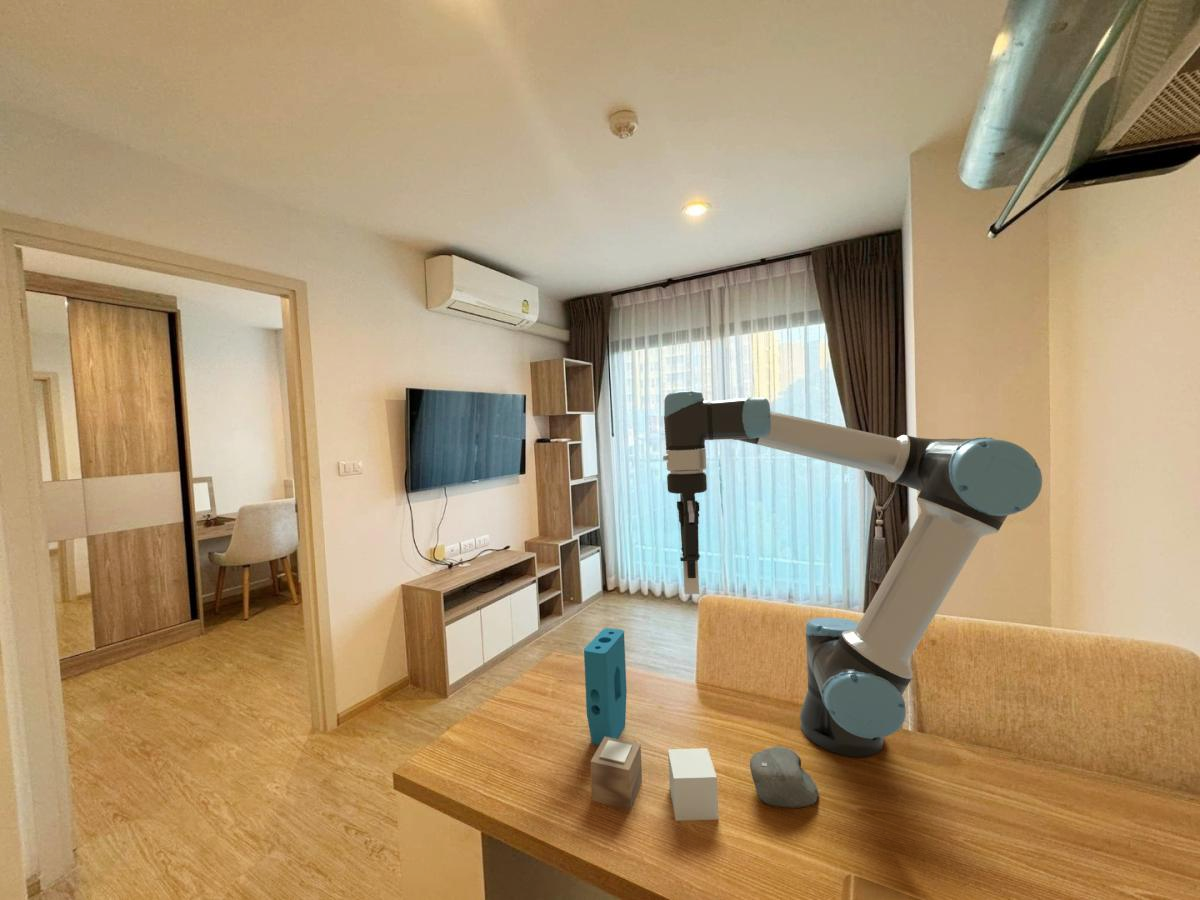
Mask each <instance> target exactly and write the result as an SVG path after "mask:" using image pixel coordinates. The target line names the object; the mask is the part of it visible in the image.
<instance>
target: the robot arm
mask: <svg viewBox="0 0 1200 900" xmlns="http://www.w3.org/2000/svg"><path fill="white" fill-rule="evenodd" d="M663 405H664V415H663V420H664V437H665V451H666V452H665V454H667V455H663V457H662V460H663V461H667V462H666V470H667V471H668V472H670V473H668V474H667V475H666V481H667V483H666V485H667V486H666V487H667V491H668V493H670V494H680V495H679V496H680V497H679V498H680V499H679V500H677V501H676V508H677V510H678V522H679V524H680V541H681V548H680V549H681V552H682V553H681V555H682V556H681V557H679V558H680V562H682V566H683V568H682V569H683V572H682V573H683V587H684V588H683V590H684V591H683V592H684V595H699V594H700V582H699V580H700V579H699V577H700V576H699V560H700V557H701V555H700V552H699V551H700V550H699V547H700V546H699V542H700V541H699V522H700V521H699V518H700V513H699V512H700V502H699V501H698V500H696V494H700V493H705V492H706V491H707V490H708V484H707V483H708V482H707V474H706V472H705V470H706V469H707V452H706V445H705V443H706V441H715V440H734V441H740V442H744V443H748V444H753V445H757V446H762V447H766V448H771V449H775V450H778V451H783V452H786V453H791V454H795V455H800V456H804V457H808V458H811V459H817V460H819V461H820V460H821V461H825V462H828V463H834V464H836V465H841V466H845V467H848V468H852V469H856V470H857V469H858V470H861V471H866V472H869V473H874V474H878V475H882V476H884V477H885V479H886V480H887V481H888V482H890V483H893V484H898V485H901V486H905V487H908V488H910V489H913V490H916V491H917V492H918V491H919V493H918V495H917V497H916V501H917V504H918V506H919V508H920V513H919V515H918V517H917V519H916V521H915V523H914V525H913V526H912V527H911V529H910V531H909V533H908V534H907V537H906V539H905V540H904V542H903V543H902V546H901V547H900V549H899V551H898V553H897V554H896V557H895V559H894V560H893V562H892V564H891V566H890V567H889V568H888V571H887V572H886V574H885V576H884V578H883V579H882V581H881V583H880V585H879V587H878V589H877V590H876V592H875V594H874V596H873V597H872V600H870V603H869V605H868V607H867V609H866V611H865V612H864V613H863V616H862V617H861V619H860V621H859V622H858V621H855V620H851V619H847V618H839V617H830V616H829V617H825V616H824V617H822V616H821V617H815V618H811V619H809V620H808V621H807V622H806V623H805V624H806V625H805V633H804V636H805V639H806V640H805V641H806V642H805V643H806V646H805V647H806V668H807V669H806V671H807V672H806V673H807V691H806V695H805V698H804V701H803V704H802V707H801V709H800V712H799V713H800V714H799V719H800V720H799V721H800V722H799V723H800V728H801V731H802V733H803V734H804V735H805V736H806V738H807V739H809V740H810V741H811V742H812V743H813V744H815V745H816V746H819V748H822V749H823V750H826V751H829V752H831V753H834V754H838V755H840V756H846V757H851V758H852V757H854V758H864V757H865V758H867V757H869V756H874V755H876V754H878V753H879V752H881V750H882V749H883V747H884V738H887V737H889V736H891V735H894V734H895V733H896V732H898V730H900V729H901V727H902V726H903V725H904V724H905V723H904V722H905V719H906V716H907V709H906V708H907V707H906V701H905V700H904V697H903V695H904V692H905V691H906V690H907V688H908V686H909V684H910V682H911V681H912V679H913V677H914V673H913V670H912V667H911V666H910V664H909V663H910V659H911V657H912V655H913V653H914V652H915V650H916V649H917V647H918V646H919V643H920V641H921V640H922V638H923V637H924V634H925V633H926V631H927V629H928V628H929V626H930V624H931V623H932V621H933V619H934V618H935V616H936V614H937V613H938V610H940V607H941V605H942V604H943V602H944V601H945V599H946V597H947V596H948V593H949V592H950V591H951V588H952V586H953V585H954V583H955V581H956V579H957V578H958V577H959V575H960V573H961V572H962V569H963V568H964V566H965V564H966V563H967V560H969V558H970V556H971V554H972V552H973V551H974V548H976V546H977V543H979V540H980V539H981V538H982V537H985V536H988V535H992V534H997V533H999V531H1000V529H1001V527H1002V525H1003V524H1004V522H1005V520H1006V519H1007V518H1008V516H1009V515H1010V516H1011V515H1015V514H1017V513H1019V512H1020V513H1021V512H1022V511H1025V510H1026V509H1028V508H1029V507H1031V506H1032V505H1033V503H1035V501H1036V500H1037V499H1038V497H1039V495H1040V494H1041V491H1042V485H1043V475H1042V471H1041V468H1040V467H1039V465H1038V463H1037V461H1036V459H1035V458H1034V457H1033V455H1032V454H1031V453H1030V452H1029V451H1027V450H1026V449H1025V448H1023V447H1022V446H1020V445H1018V444H1017V443H1014V442H1012V441H1011V442H1010V441H1008V440H1004V439H1003V440H1002V439H997V438H996V439H995V438H993V437H976V438H924V437H916V436H911V435H906V434H902V435H899V436H898V437H891V436H887V435H883V434H882V435H881V434H878V433H877V434H876V433H873V432H868V431H863V430H859V429H858V430H857V429H854V428H849V427H845V426H841V425H835V424H831V423H827V422H822V421H817V420H813V419H807V418H803V417H799V416H793V415H790V414H784V413H781V412H775V411H771V406H770V402H769V400H768V398H765V397H749V396H748V397H744V398H733V399H724V400H705V399H704V394H703V393H702V391H698V390H690V391H689V390H686V391H685V390H684V391H683V390H682V391H676V392H671V393H667V395H665V398H664V404H663Z"/></svg>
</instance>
